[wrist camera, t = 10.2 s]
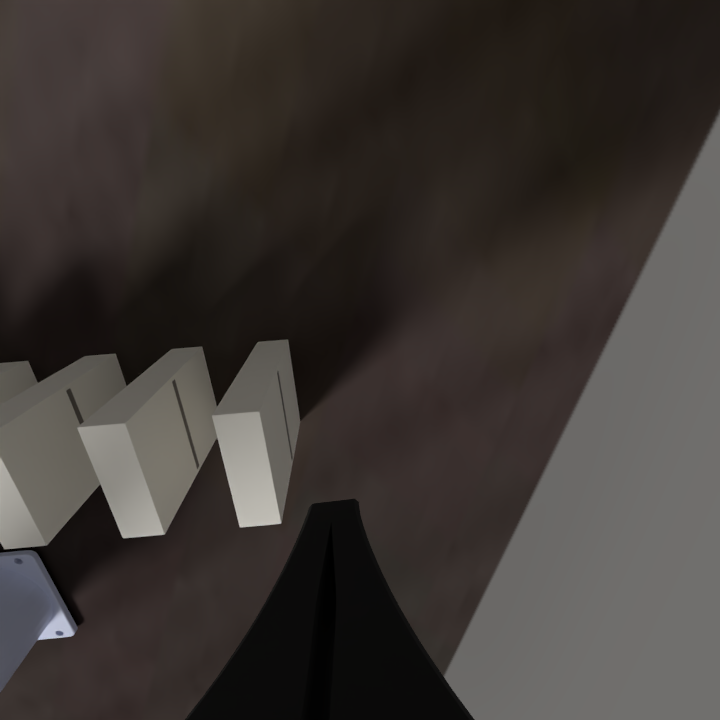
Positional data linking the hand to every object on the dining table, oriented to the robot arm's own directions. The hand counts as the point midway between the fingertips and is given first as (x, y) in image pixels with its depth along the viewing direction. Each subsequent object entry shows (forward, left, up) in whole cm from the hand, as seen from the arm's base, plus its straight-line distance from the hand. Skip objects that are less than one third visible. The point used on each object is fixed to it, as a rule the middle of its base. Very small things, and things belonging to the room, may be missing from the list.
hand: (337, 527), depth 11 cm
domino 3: (-3, 0, -11) cm, 11 cm away
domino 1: (-12, 0, -11) cm, 16 cm away
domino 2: (-8, 0, -11) cm, 13 cm away
